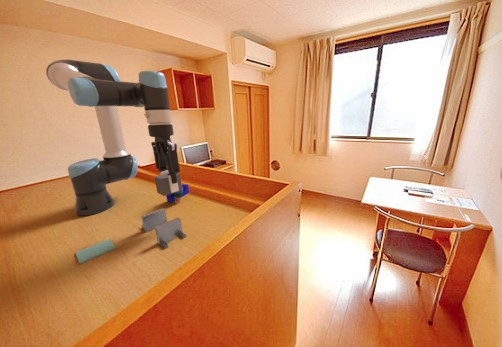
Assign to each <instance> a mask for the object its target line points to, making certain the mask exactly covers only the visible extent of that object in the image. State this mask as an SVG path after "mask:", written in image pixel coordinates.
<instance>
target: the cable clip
mask: <svg viewBox="0 0 502 347" xmlns="http://www.w3.org/2000/svg"><path fill="white" fill-rule="evenodd" d="M182 188H183V194H182V195H181V198H183V197H184V196H186V195H187V194H190V189H189V184H187V183H183V184H182ZM165 196H166V201H167V203H169V204H173V202H176V199H175V197H174V194H173V193H171V194H168V195H165Z"/></svg>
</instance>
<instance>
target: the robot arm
mask: <svg viewBox="0 0 502 347" xmlns="http://www.w3.org/2000/svg"><path fill="white" fill-rule="evenodd" d="M45 72H46V73H45V74H46V77H47V79H48V80H49V82H51V84H52V85H54V86H55V87H57V88H58V89H60V90H63V91H68V92H69V94H70V98H71V99H72V101H73V103H74V104H75V105H77V106H81V107H90V108H91V107H94V110H95V114H96V118H97V123H98V126H99V131H100V133H101V134H100V135H101V139H102V143H103V146H104V151H105V153H104V154H103V155H102V158H103V160H100V159H99V158H95V157H94V158H90V159H89V158H87V159H83V160H79V161H77V162H76V161H75V162H74V163H72V164H70V165H69V166H68V167H67V173H68V177H69V179H70V182H71V185H72V189H73V191H74V195H75V204H74V211H75V215H77V216H82V217H83V216H90V215H95V214H100V213H102V212H105V211H107V210H109V209H112V208H113V207H114V206H115V204H116V201H115V199H114V198H113V197H112V195H111V194H110V192H109V191H108V189H107V186H106V185H109V184H113V183H116V182H121V181H125V180H129V179H132V178H135V177H136V175H137V173H138V170H139V169H138V162H137V159H136V157H135V156H134V155H131V152H130V151H128V150H127V148H126V143H125V139H124V133H123V130H122V124H121V120H120V114H119V110H118V107H135V108H144V112H145V113H144V117H145V118H146V124H149V125H147V129H148V136H150V137H151V138H154V141H152V142H150V144H151V147H152V151H153V152H152V153H153V158H154V161H155V162H154V163H155V168H156V169H157V170H158V171H159V175H164V174H167V175H168V179H169V185H170V191H171V193H173V192H176V191H179V188H178V181H177V175H176V174H177V173H178V174H180V172H181V171H180V163H179V162H180V161H179V157H178V149H177V148H178V145H177V143H172V139H171V136H174V133H175V132H174V126H173V124H172V122H173V119H172V112H171V104H170V99H169V92H168V84H167V80H166V77H165V74H164V73H163V72H161V71H156V70H141V71H139V72H138V82H129V81H121V78H120V76H119V74H118V72H117V70H115V68H114V67H113V66H111V65H108V64H103V63H99V62H98V63H97V62H91V61H83V60H75V59H59V60H55V61H52V62H51V63H49V64H48V65H47V67H46V69H45ZM168 173H169V174H168Z"/></svg>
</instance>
